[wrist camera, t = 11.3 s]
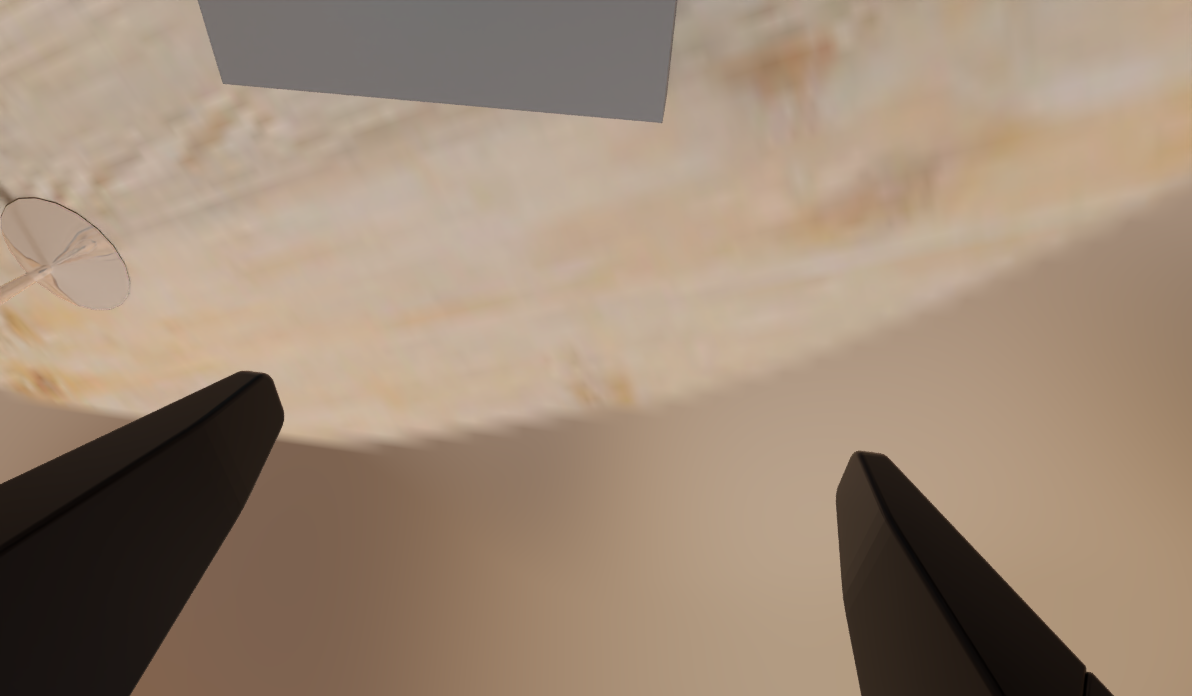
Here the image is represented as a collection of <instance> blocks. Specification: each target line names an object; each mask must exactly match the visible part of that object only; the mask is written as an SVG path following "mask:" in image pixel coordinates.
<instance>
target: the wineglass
mask: <svg viewBox="0 0 1192 696" xmlns="http://www.w3.org/2000/svg"><path fill="white" fill-rule="evenodd" d="M1 228H2V235H3V237H4V239H5V242H6V244H7V246H8V249H9V251H10V252H11V254H12V255H13V256H14V258H15V259H16V260H17V262H18V263H19V264H20V266H21V267H22V268H23V269H24V270H25V271H26V272H27V273H25V274H23V275H21V276H19V277H17V278H15V279H14V280H12V281H10V282H8V283H6V284H4V285H2V286H0V305H1V304H3V303H5V302H6V301H8V300H9V299H11V298H12V297H14V296H15V295H17V294H19V293H20V292H22V291H23V290H25V289H26V288H28V287H29V286H31V285H33V284H34V283H36V282H37V283H38V284H40V285H41V286H43V287H44V288H46V289H47V290H49V291H50V292H51V293H53V294H54V295H56V296H57V297H60V298H62V299H64V300H66V301H68V302H70V303H72V304H74V305H77V306H81V307H85V308H89V309H93V310H110V309H112V308H114V307H117V306H119V305H121V304H122V303H123V302H124V300H125V299H126V298H127V296H128V295H129V284H130V280H129V277H128V274H127V270H126V267H125V264H124V263H123V261H122V259H121V258H120V256H119V254H118V253H117V251H116V250H115V248H114V247H113V245H112V244H111V243H110V242H109V241H108V240H107V239H106V238H105V237H104V236H103V235H102V234H101V233H100V232H99V230H98V229H96V228H95V227H94V226H92V225H91V224H90V223H88V222H87V221H86V220H84V219H83V218H82V217H80V216H79V215H78V214H76V213H74V212H72V211H70V210H68V209H66V208H64V207H62V206H60V205H58V204H56V203H52V202H48V201H44V200H40V199H36V198H32V199H18V200H16V201H14V202H13V203H11V204H9V205H7V206H6V208H5V210H4V212H3V214H2V216H1Z"/></svg>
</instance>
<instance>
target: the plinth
mask: <svg viewBox="0 0 1192 696" xmlns="http://www.w3.org/2000/svg"><path fill="white" fill-rule="evenodd" d="M198 3H199V6H200V9H201V13H202V16H203V19H204V23H205V26H206V29H207V33H208V36H209V39H210V43H211V46H212V49H213V53H214V56H215V59H216V62H217V66H218V69H219V72H220V76H221V79H222V82H223V84H231V85H242V86H253V87H264V88H275V89H287V90H298V91H309V92H320V93H332V94H343V95H354V96H365V97H376V98H388V99H399V100H410V101H421V102H433V103H444V104H455V105H466V106H477V107H489V108H500V109H511V110H522V111H533V112H545V113H556V114H567V115H578V116H590V117H601V118H612V119H623V120H634V121H646V122H657V123H662V121H663V115H664V109H665V103H666V97H667V88H668V79H669V70H670V61H671V52H672V43H673V34H674V25H675V16H676V7H677V0H198Z"/></svg>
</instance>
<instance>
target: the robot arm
mask: <svg viewBox="0 0 1192 696" xmlns="http://www.w3.org/2000/svg"><path fill="white" fill-rule="evenodd" d="M283 422H284V410H283V407H282V404H281V401H280V399H279V396H278V393H277V390H276V387H275V384H274V382H273V379H272V378H271V377H270V376H269V375H268V374H266V373H260V372H252V371H240V372H237V373H235V374H233V375H231V376H229V377H227V378H224V379H222V380H220V381H218V382H216V383H214V384H212V385H210V386H207V387H205V388H203V389H201V390H199V391H197V392H195V393H193V394H191V395H188V396H186V397H184V398H182V399H180V400H178V401H176V402H174V403H171V404H169V405H167V406H165V407H163V408H161V409H159V410H157V411H154V412H152V413H150V414H148V415H146V416H144V417H142V418H140V419H138V420H135V421H133V422H131V423H129V424H127V425H125V426H123V427H121V428H118V429H116V430H114V431H112V432H110V433H108V434H106V435H104V436H101V437H99V438H97V439H95V440H93V441H91V442H89V443H87V444H85V445H82V446H80V447H78V448H76V449H74V450H72V451H70V452H68V453H65V454H63V455H61V456H59V457H57V458H55V459H53V460H51V461H49V462H47V463H44V464H42V465H40V466H38V467H36V468H34V469H32V470H30V471H27V472H25V473H23V474H21V475H19V476H17V477H15V478H13V479H10V480H8V481H6V482H4V483H2V484H0V696H130V695H131V693H132V692H133V690H134V688H135V687H136V685H137V683H138V682H139V680H140V678H141V677H142V675H143V674H144V672H145V670H146V669H147V667H148V665H149V664H150V662H151V660H152V659H153V657H154V655H155V654H156V652H157V650H158V649H159V647H160V646H161V644H162V642H163V641H164V639H165V637H166V636H167V634H168V632H169V631H170V629H171V627H172V626H173V624H174V622H175V621H176V619H177V617H178V616H179V614H180V613H181V611H182V609H183V607H184V606H185V604H186V603H187V601H188V599H189V598H190V596H191V594H192V593H193V591H194V589H195V588H196V586H197V585H198V583H199V581H200V580H201V578H202V576H203V574H204V573H205V571H206V570H207V568H208V566H209V565H210V563H211V561H212V560H213V558H214V556H215V555H216V553H217V551H218V550H219V548H220V547H221V545H222V543H223V542H224V540H225V538H226V537H227V535H228V533H229V532H230V530H231V528H232V527H233V525H234V524H235V522H236V520H237V518H238V517H239V515H240V513H241V511H242V510H243V508H244V506H245V504H246V502H247V500H248V498H249V496H250V494H251V492H252V490H253V488H254V485H255V483H256V481H257V479H258V477H259V475H260V473H261V471H262V468H263V466H264V464H265V462H266V460H267V458H268V456H269V454H270V451H271V449H272V447H273V445H274V443H275V441H276V439H277V437H278V435H279V432H280V430H281V428H282V425H283ZM836 510H837V524H838V538H839V552H840V566H841V579H842V591H843V600H844V606H845V612H846V618H847V623H848V628H849V634H850V639H851V644H852V649H853V654H854V659H855V664H856V670H857V675H858V680H859V685H860V691H861V696H1114V695H1113V694H1112V693H1111V692H1110V691H1109V690H1108V689H1107V688H1106V687H1105V686H1104V685H1103V684H1102V683H1101V682H1100V681H1099V679H1098V678H1097V677H1096V676H1095V675H1094V674H1093V673H1091V672H1086V666H1085V665H1084V664H1083V663H1082V662H1081V661H1080V660H1079V659H1078V657H1077V656H1076V655H1075V654H1074V653H1073V652H1072V651H1071V650H1070V649H1069V648H1068V647H1067V646H1066V645H1065V644H1064V643H1063V642H1062V641H1061V639H1060V638H1059V637H1058V636H1057V635H1056V634H1055V633H1054V632H1053V631H1052V630H1051V629H1050V628H1049V627H1048V626H1047V625H1046V624H1045V623H1044V622H1043V620H1042V619H1041V618H1040V617H1039V616H1038V615H1037V614H1036V613H1035V612H1034V611H1033V610H1032V609H1031V608H1030V607H1029V606H1028V605H1027V604H1026V602H1024V600H1022V598H1021V597H1020V596H1019V595H1018V594H1017V593H1016V592H1015V591H1014V590H1013V589H1012V588H1011V587H1010V586H1009V585H1008V583H1007V582H1006V581H1004V579H1003V578H1002V577H1001V576H1000V575H999V574H998V573H997V572H996V571H995V570H994V569H993V568H992V567H991V566H990V564H988V562H987V561H986V560H985V559H984V558H983V557H982V556H981V555H980V554H979V553H978V552H977V551H976V550H975V549H974V548H973V546H972V545H971V544H970V543H969V542H968V541H967V540H966V539H965V538H964V537H963V536H962V535H961V534H960V533H959V532H958V531H957V530H956V529H955V527H954V526H952V524H950V522H949V521H948V520H947V519H946V518H945V517H944V516H943V515H942V514H941V513H940V512H939V511H938V510H937V508H936V507H935V506H934V505H933V504H932V503H931V502H930V501H929V500H928V499H927V498H926V497H925V496H924V495H923V494H922V493H921V492H920V490H919V489H918V488H917V487H916V486H915V485H914V484H913V483H912V482H911V481H910V480H909V479H908V478H907V477H906V476H905V475H904V474H903V473H902V471H901V470H900V469H899V468H898V467H897V466H896V465H895V464H894V463H893V462H892V461H891V460H890V459H889V458H888V457H887V456H885V455H884V454H881V453H874V452H866V451H856V452H854V453H853V454H852V456H851V458H850V460H849V462H848V465H847V467H846V469H845V472H844V474H843V476H842V478H841V481H840V483H839V486H838V488H837V493H836Z"/></svg>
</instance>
